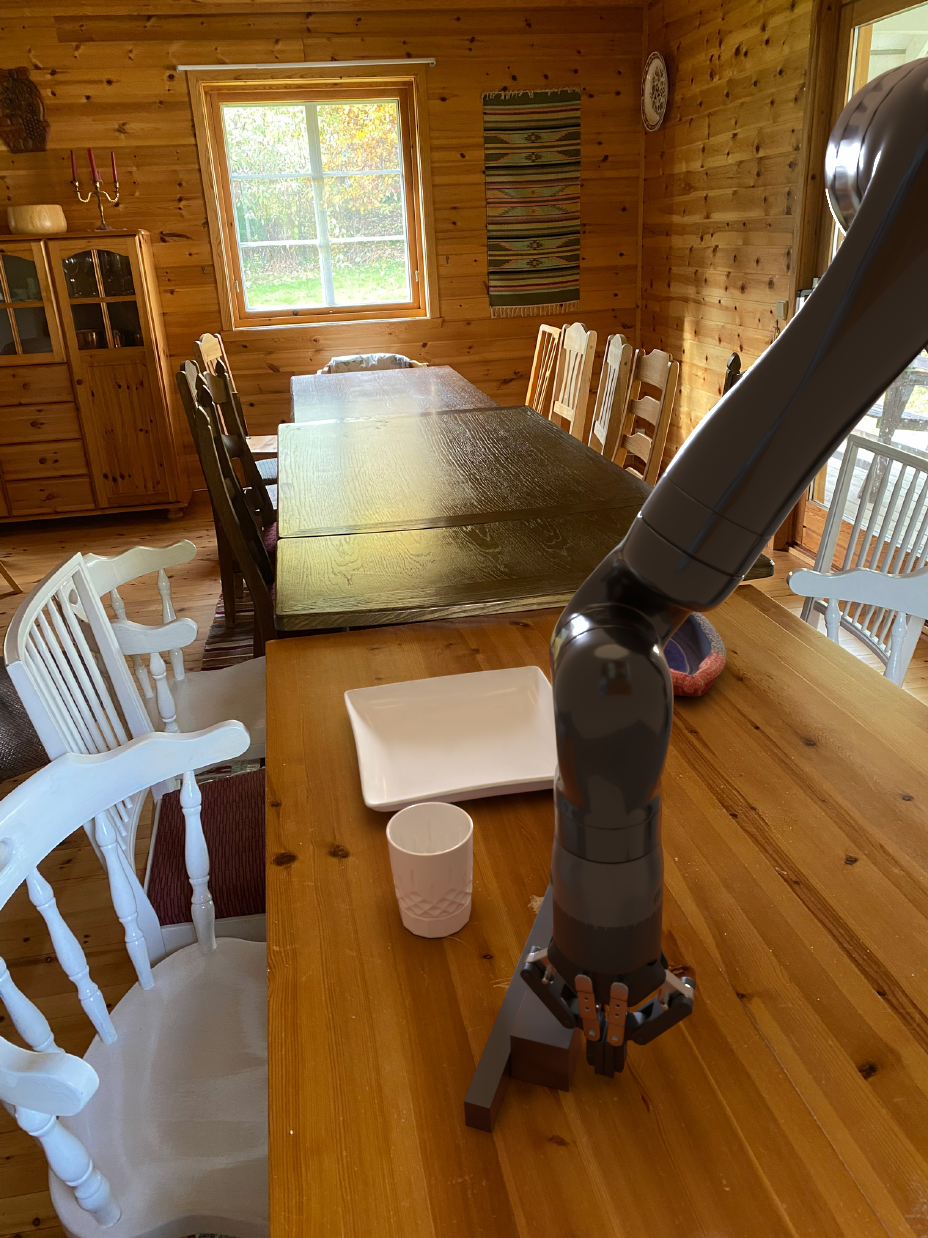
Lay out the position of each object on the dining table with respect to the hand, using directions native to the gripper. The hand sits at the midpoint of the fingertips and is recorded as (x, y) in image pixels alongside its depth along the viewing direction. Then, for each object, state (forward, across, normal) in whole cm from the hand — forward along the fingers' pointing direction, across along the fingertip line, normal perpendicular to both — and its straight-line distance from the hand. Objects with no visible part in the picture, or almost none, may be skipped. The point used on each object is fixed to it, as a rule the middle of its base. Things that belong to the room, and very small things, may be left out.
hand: (606, 1067), depth 69 cm
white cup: (+1, +19, -13) cm, 23 cm away
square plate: (+1, +26, -41) cm, 49 cm away
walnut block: (+1, +5, 0) cm, 5 cm away
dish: (+1, +6, -72) cm, 72 cm away
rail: (+1, +8, -12) cm, 14 cm away
